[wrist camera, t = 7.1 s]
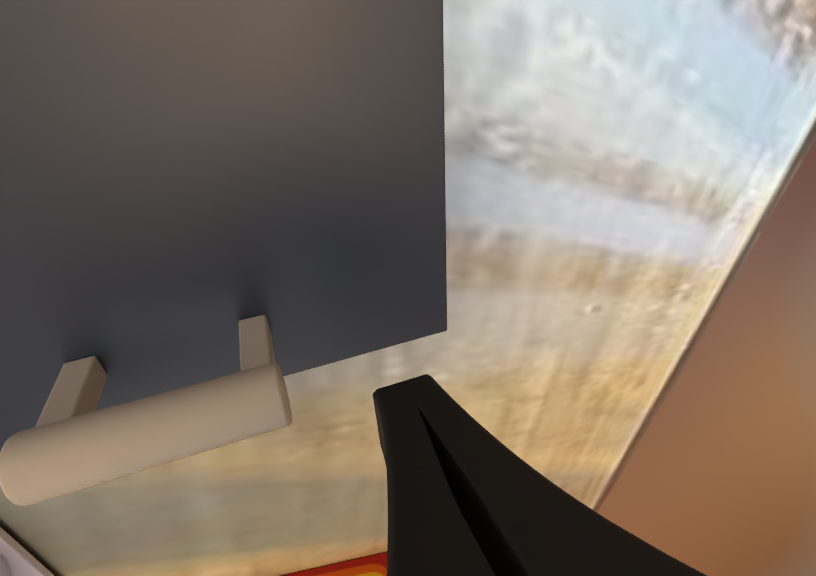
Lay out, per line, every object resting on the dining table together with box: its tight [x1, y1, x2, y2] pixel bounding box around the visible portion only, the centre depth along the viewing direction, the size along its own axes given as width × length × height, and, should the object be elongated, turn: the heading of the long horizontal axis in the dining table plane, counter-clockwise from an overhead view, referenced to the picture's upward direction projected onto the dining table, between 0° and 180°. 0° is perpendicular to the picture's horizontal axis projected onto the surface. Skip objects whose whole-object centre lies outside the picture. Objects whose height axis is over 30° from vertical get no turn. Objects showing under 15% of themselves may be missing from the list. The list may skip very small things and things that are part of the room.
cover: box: [0, 0, 447, 506], centre depth 8 cm, size 11×15×4 cm
